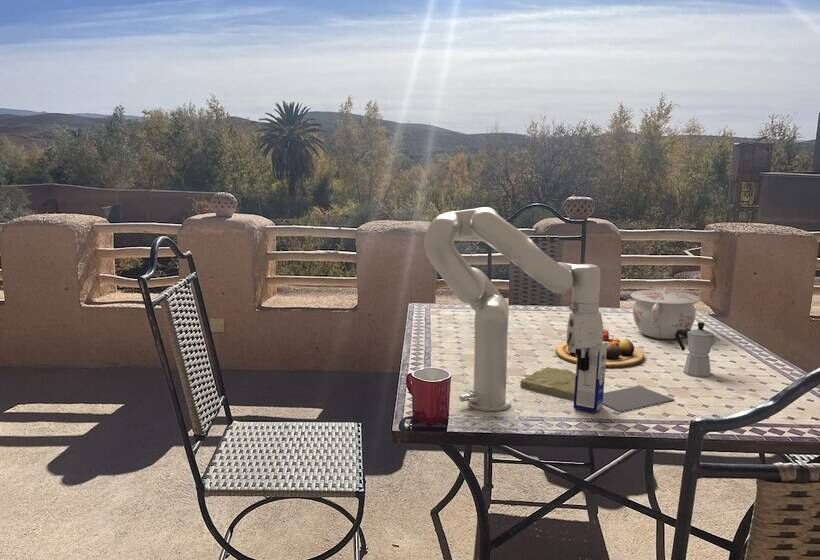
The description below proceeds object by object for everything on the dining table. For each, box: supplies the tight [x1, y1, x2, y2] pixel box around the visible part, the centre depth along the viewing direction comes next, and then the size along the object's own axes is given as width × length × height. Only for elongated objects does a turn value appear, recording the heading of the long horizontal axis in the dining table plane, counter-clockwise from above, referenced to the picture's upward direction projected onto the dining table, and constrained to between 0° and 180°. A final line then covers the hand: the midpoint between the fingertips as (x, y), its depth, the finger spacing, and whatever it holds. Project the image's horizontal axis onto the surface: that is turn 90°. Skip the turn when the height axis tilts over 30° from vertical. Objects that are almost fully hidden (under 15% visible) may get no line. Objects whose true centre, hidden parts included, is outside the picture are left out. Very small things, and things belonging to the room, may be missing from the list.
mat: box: [602, 385, 675, 413], centre depth 205 cm, size 22×14×1 cm, turn 118°
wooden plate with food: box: [555, 328, 645, 369], centre depth 250 cm, size 32×32×8 cm
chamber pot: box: [629, 286, 702, 341], centre depth 278 cm, size 28×28×21 cm
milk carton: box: [572, 341, 607, 413], centre depth 196 cm, size 7×7×20 cm
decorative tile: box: [520, 366, 576, 401], centre depth 216 cm, size 19×20×4 cm
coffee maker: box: [675, 321, 720, 378], centre depth 229 cm, size 15×9×18 cm, turn 45°
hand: (582, 369), depth 194 cm, fingers closed
